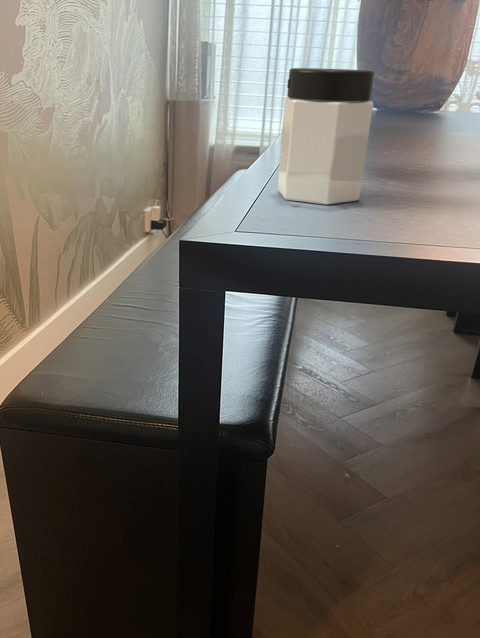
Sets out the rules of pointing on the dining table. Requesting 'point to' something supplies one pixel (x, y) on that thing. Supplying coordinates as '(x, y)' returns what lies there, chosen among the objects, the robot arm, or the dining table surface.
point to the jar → (325, 135)
